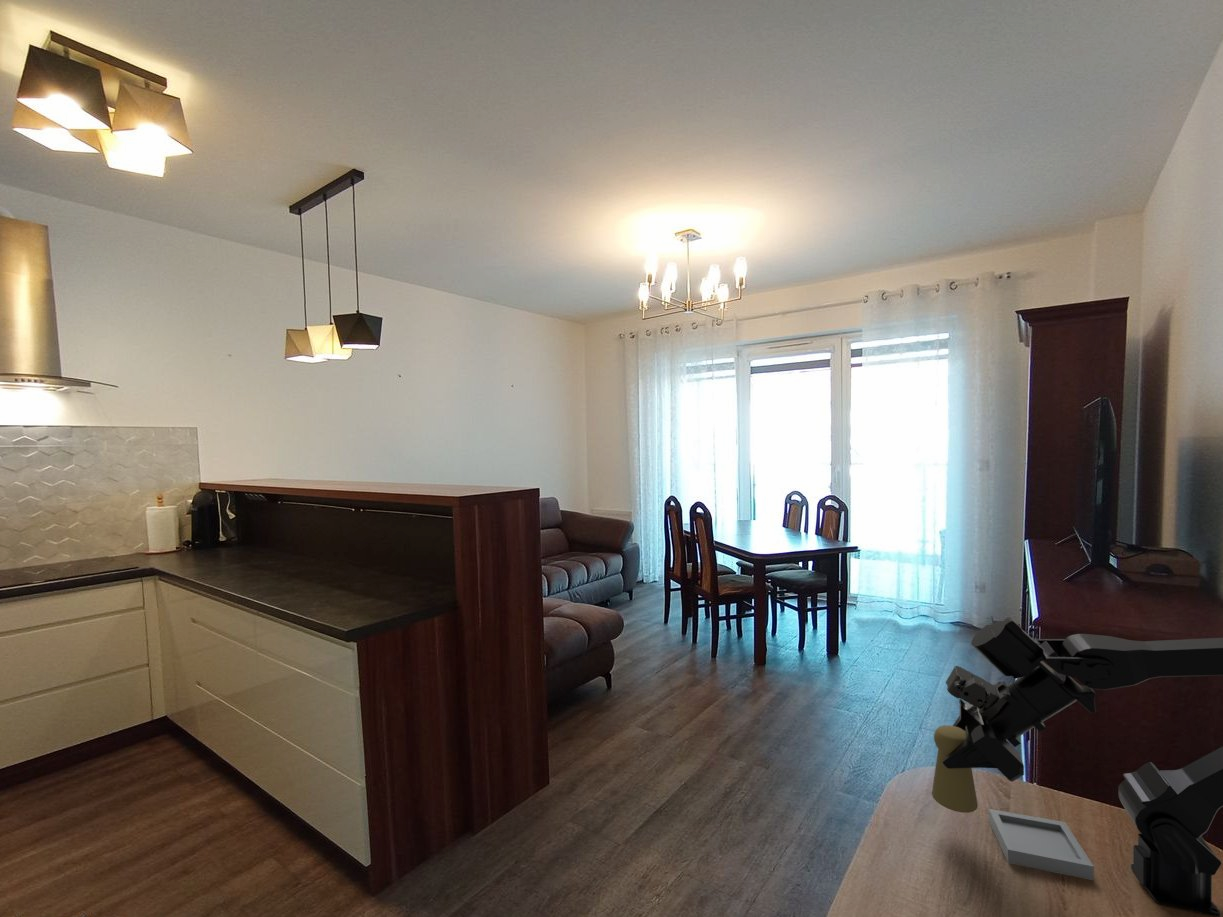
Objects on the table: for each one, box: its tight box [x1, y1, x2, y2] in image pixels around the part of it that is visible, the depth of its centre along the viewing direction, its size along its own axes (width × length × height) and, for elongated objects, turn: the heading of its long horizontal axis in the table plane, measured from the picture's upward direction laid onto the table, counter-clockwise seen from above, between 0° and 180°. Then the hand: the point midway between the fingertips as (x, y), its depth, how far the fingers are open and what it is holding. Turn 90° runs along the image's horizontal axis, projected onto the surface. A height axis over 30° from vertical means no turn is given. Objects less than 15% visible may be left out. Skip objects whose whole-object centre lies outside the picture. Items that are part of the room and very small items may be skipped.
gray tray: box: [988, 808, 1095, 881], centre depth 81 cm, size 10×9×2 cm
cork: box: [931, 724, 979, 814], centre depth 84 cm, size 6×6×11 cm
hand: (943, 755), depth 84 cm, fingers closed on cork, 5 cm apart
